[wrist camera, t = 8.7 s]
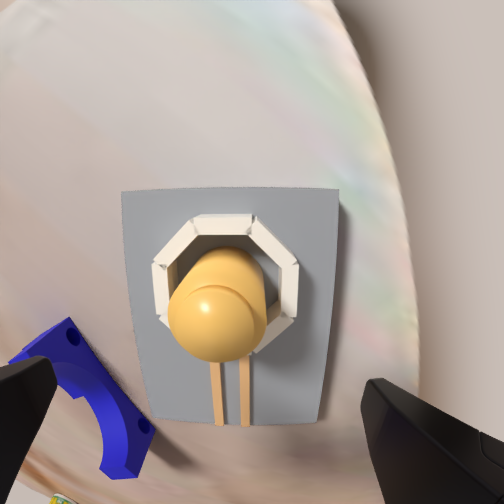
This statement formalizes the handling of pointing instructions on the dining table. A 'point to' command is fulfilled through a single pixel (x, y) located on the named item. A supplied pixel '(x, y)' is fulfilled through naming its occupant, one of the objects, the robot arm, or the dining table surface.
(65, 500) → the supplement bottle
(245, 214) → the plate
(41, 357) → the robot arm
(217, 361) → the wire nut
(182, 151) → the dining table surface
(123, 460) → the cable clip
